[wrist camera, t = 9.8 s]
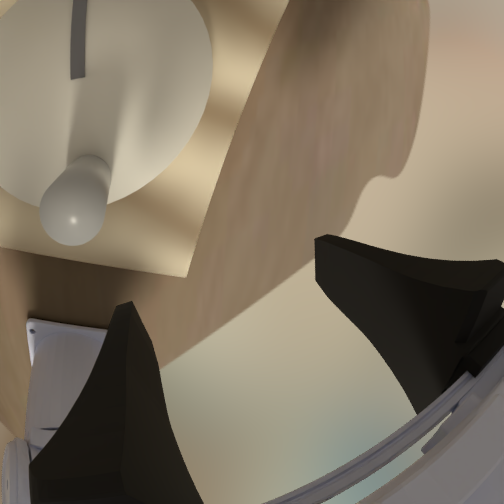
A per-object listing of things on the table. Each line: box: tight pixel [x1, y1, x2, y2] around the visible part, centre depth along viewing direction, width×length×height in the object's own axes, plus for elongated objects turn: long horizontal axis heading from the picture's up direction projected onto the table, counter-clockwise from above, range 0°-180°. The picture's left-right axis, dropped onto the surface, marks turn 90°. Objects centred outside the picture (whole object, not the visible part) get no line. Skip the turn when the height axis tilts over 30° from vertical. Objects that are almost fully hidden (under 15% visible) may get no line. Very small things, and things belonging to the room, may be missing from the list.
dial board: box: [0, 0, 289, 278], centre depth 12 cm, size 22×18×2 cm
